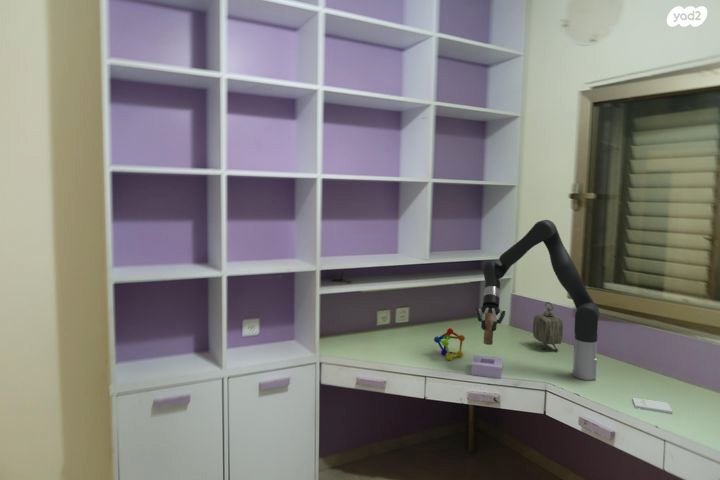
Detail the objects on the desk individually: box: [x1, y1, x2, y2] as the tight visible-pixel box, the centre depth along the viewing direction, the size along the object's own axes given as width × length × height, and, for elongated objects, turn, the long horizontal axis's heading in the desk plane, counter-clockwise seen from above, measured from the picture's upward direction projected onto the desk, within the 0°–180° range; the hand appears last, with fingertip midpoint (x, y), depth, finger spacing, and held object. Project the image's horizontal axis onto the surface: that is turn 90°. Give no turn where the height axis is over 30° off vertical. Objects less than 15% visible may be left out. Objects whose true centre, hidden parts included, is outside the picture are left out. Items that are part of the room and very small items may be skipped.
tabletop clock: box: [532, 301, 564, 352], centre depth 256 cm, size 14×9×25 cm, turn 9°
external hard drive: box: [631, 397, 673, 415], centre depth 189 cm, size 2×8×12 cm
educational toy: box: [433, 327, 466, 361], centre depth 242 cm, size 16×13×15 cm
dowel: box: [483, 313, 494, 346], centre depth 221 cm, size 4×4×14 cm
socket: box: [470, 354, 503, 379], centre depth 223 cm, size 13×13×5 cm
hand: (488, 329), depth 219 cm, fingers closed on dowel, 4 cm apart
